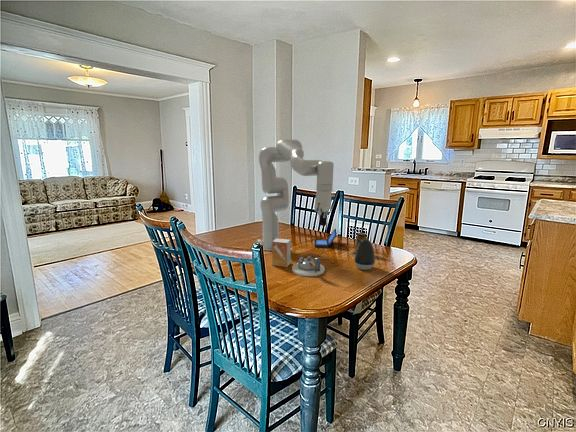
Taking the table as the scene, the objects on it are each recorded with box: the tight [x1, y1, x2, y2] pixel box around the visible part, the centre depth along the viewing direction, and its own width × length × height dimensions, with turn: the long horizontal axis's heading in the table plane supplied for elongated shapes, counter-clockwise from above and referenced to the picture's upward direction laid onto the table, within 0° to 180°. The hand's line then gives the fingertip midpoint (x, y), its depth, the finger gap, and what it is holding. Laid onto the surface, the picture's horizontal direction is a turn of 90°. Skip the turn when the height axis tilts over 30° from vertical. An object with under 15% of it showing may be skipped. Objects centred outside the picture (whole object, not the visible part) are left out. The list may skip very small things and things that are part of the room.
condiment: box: [350, 232, 368, 256], centre depth 181 cm, size 7×8×12 cm
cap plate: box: [291, 262, 325, 277], centre depth 156 cm, size 16×16×2 cm
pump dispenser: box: [353, 238, 376, 271], centre depth 158 cm, size 10×10×15 cm
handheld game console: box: [313, 228, 338, 249], centre depth 200 cm, size 16×13×9 cm
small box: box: [271, 238, 292, 268], centre depth 163 cm, size 8×6×13 cm
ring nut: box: [297, 255, 321, 272], centre depth 153 cm, size 16×10×8 cm, turn 21°
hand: (322, 225), depth 154 cm, fingers closed
